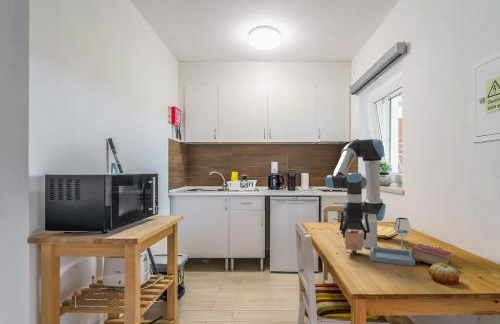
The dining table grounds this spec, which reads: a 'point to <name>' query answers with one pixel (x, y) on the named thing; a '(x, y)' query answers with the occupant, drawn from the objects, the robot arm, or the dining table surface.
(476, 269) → the dining table surface
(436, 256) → the book
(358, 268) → the dining table surface
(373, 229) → the milk carton
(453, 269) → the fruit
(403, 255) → the tray
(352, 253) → the grey t-shaped piece
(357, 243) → the pink window frame
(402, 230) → the wineglass
